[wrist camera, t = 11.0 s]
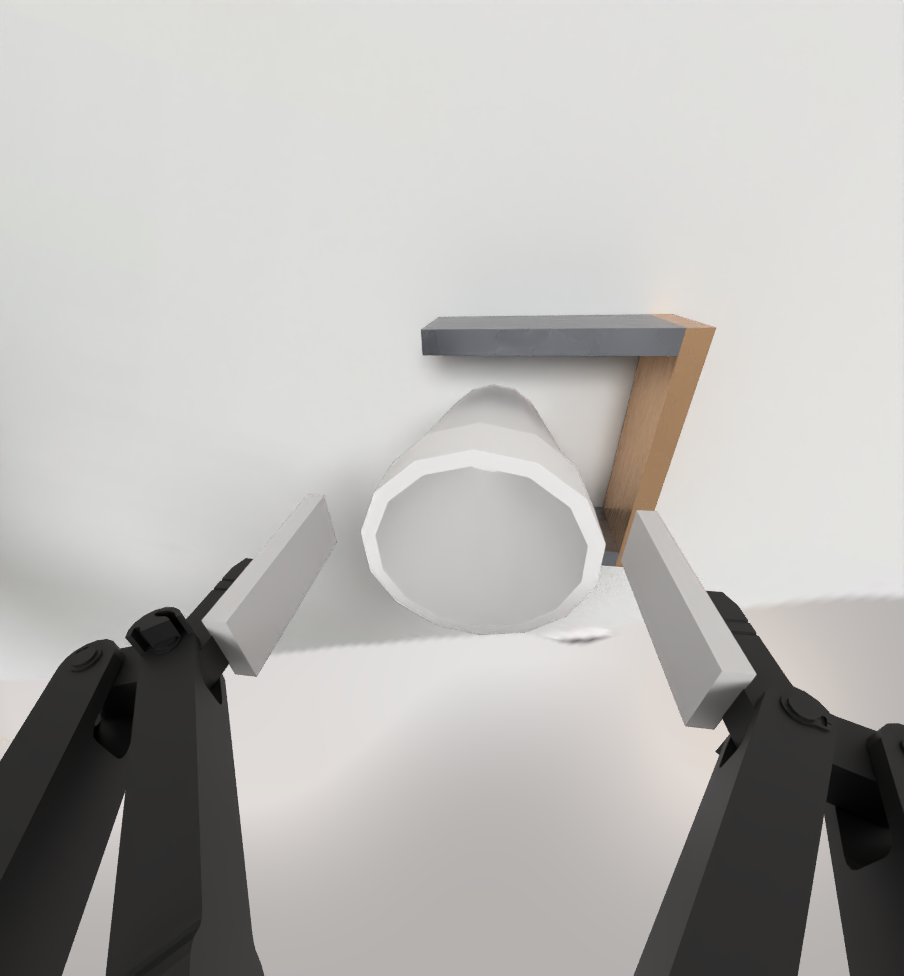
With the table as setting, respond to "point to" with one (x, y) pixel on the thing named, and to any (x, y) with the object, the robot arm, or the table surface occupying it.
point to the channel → (653, 401)
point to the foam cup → (485, 521)
